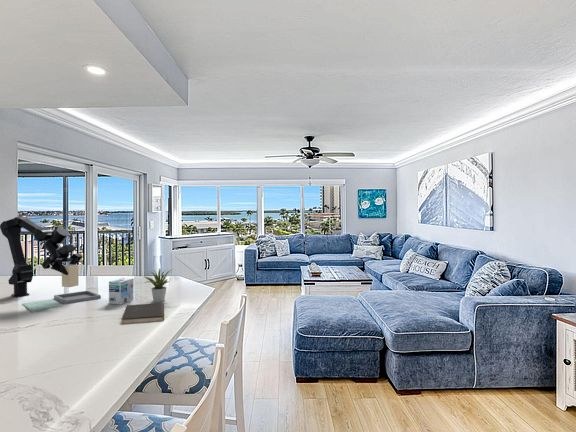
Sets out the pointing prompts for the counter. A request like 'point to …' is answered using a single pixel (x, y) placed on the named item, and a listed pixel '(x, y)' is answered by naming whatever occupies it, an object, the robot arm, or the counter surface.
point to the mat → (41, 305)
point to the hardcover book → (143, 313)
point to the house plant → (158, 286)
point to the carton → (70, 276)
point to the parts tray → (77, 297)
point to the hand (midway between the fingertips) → (72, 273)
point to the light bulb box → (121, 290)
